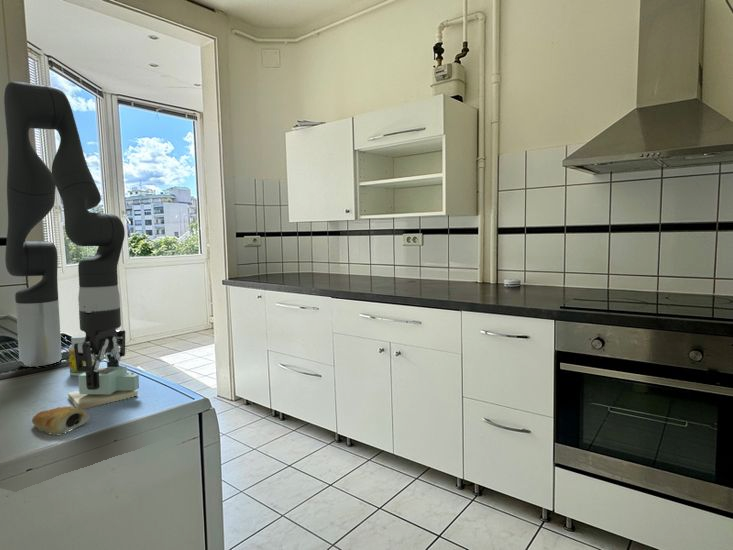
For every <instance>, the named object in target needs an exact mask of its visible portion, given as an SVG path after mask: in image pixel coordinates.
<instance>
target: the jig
mask: <svg viewBox="0 0 733 550" xmlns="http://www.w3.org/2000/svg"><path fill="white" fill-rule="evenodd" d="M98 371H99V374H108V373H109V368H99V369H98ZM67 395H68V396H67V397H68V399H69V401H70V402H71V403H72V405H74V407H75V408H78V409H80V408H81V409H82V410H86V409H90V408H93V407H94V408H95V407H98V405H99V406H102V404H103V405H107V404H111V403H115V401H116V402H119V400H120V401H123V400H122V399H124V400H127V399H126V398H128V399H131V398H130V397H132V398H135V397H134V396H137V395H138V389H137V390H134V391H127V390H116V391H115V392H113V393H111V394H79V390H76V391H75V390H74V391H71V392H68V394H67ZM137 397H138V396H137ZM110 402H111V403H110ZM106 403H107V404H106Z"/></svg>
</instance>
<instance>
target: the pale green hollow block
mask: <svg viewBox="0 0 733 550" xmlns="http://www.w3.org/2000/svg"><path fill="white" fill-rule="evenodd" d="M99 368H109V373H108V374H99V388H98V389H96V390H88V389H87V386H86V373H83V374H81V375H78V376H77V377H78V389H79V390H78V391H79V394H111V393H113V392H115V391H116V390H137V391H138V389H140V380H139V379H140V377H139V376H140V375H139V373H138V374H127V373H128V370H127V366H119V367H107V366H99ZM99 368H98V369H99Z"/></svg>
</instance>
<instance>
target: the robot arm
mask: <svg viewBox="0 0 733 550" xmlns="http://www.w3.org/2000/svg"><path fill="white" fill-rule="evenodd" d="M3 96H4V97H3V101H4V102H3V103H4V116H5V117H4V118H5V128H6V137H7V138H6V140H7V174H6V175H7V177H6V200H7V233H6V245H5V257H4V259H5V268H6V271H7V272H8V274H9V275H11V276H13V277H39V276H41V277H42V279H41V280H40V281H38V282H37V283H35V284H33V285H31V286H29V287H25V288H22V289H20V290H18V291H16V293H15V295H14V297H15V298H14V299H15V313H16V327H17V329H16V330H17V342H18V343H17V345H18V346H17V347H18V360H19V361H21V362H23V363H24V365H26V366H29V367H31V366H39V365H47V364H52V363H56V362H58V361H60V360H61V359H62V342H61V341H62V340H61V321H60V320H61V319H60V318H61V317H60V302H59V301H60V300H59V287H58V265H59V264H58V258H59V257H58V251H57V246H56V245H55V243H54V242H52V241H26V239H27V237H28V235H29V234H30V232H31V231H32V230H33V229H34V228H35V227H36V226H37V225H38V224H39V223H40V222H42V220H43V219H45V218H46V216H47V215H48V214H49V213H50V212H51V211H52V210H53V208H54V205H55V202H56V201H55V200H56V189H57V191H58V193H59V196H60V198H61V200H62V206H63V207H62V208H63V215H64V229H65V234H66V237H68V239H69V241H71V242H72V243H73V244H75V245H77V246H79V247H98V248H97V251H96V253H95V255H93V256H90V257H86V258H83V259H81V260H80V261H79V262H78V266H77V267H78V269H77V270H78V271H77V272H78V285H79V287H78V297H77V299H78V301H77V302H78V315H79V317H78V319H79V330H80V331H81V332H84V333H85V335H86V337H85V341H84V342H82V343H75V344H74V351H75V359H76V367H77V371H78V372H85V373H86V386H87V389H88V390H96V389H98V388H99V371H98V368H99V367H100V364H101V362H103V361H104V357H105V358H106V361H107V362H106V365H107V366H106V367H120V364H119V363H120V361H121V359H122V358H123V357H125V355H126V330H125V329H121V330H120V329H119V328H121V326H122V317H121V315H122V313H121V295H120V290H119V280H118V279H119V277H118V275H119V274H118V265H119V261H120V258H121V252H122V248H123V244H124V241H125V237H126V236H125V235H126V234H125V232H126V231H125V225H124V224H123V223H124V222H122V220H121V219H120V217H119V216H118V215H117V214H116V215H115V214H113V213H106V212H105V213H104V212H92V211H91V212H90V211H89V210H91V209H94V208H96V207H97V206H98V205H99V204H100V203H101V200H102V196H101V193H100V191H99V189H98V186H97V184H96V181H95V180H94V178H93V175H92V173H91V170H90V168H89V165H88V164H87V161H86V158H85V155H84V150H83V147H82V142H81V139H80V138H81V137H80V134H79V131H78V130H79V129H78V127H77V123H76V120H75V116H74V113H73V110H72V106H71V103H70V101H69V99H68V97H67V95H66V94H65V92H64V91H63V90H62V89H60V88H59V87H56V86H50V85H43V84H37V83H36V84H35V83H30V82H23V81H22V82H21V81H10V82H9V83H7V84H6V86H5V89H4V94H3ZM30 129H37V130H38V129H39V130H56V131H57V133H58V136H59V137H60V140H59V141H60V142H59V145H58V148H57V151H56V153H55V155H54V158H53V161H52V164H51V170H50V169H49V167H48V166H47V164H46V163H45V162H44V161H43V159H42V158H41V157H40V156H39V155H38V153H37V152H36V150H35V149H34V147H33V145H32V142H31V140H30V136H29V135H30ZM117 329H119V330H117ZM91 354H92V355H94V356H91ZM82 361H85V364H84V365H83V363H82ZM92 361H94V365H93V366H92Z"/></svg>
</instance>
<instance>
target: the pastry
mask: <svg viewBox="0 0 733 550" xmlns="http://www.w3.org/2000/svg"><path fill="white" fill-rule="evenodd" d="M88 420H89V414H88V413H87V411H86V409H81V408H80V409H78V408H76V407H75V406H71V405H69V406H62V407H61V406H60V407H55V408H51V409H47V410H42V411H39V412H38V413H36V414H35V415H34V416H33V417H32V420H31V422H32V424H33V425H34V426H35V427H36V428H37V430H38V431H39V432H40V431H45V432H47V433H51V434H55V435H54V436H58V435H57V434H62V433H65V432H68V431H69V430H71V429H74V428H76V427H78V426H80V427H82V426H84V425H85V424H86V423H87V422H88ZM81 425H82V426H81ZM78 428H79V427H78ZM76 429H77V428H76ZM74 430H75V429H74ZM47 433H46V434H47ZM68 433H69V432H68ZM51 434H50V435H51ZM62 435H63V434H62Z"/></svg>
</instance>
